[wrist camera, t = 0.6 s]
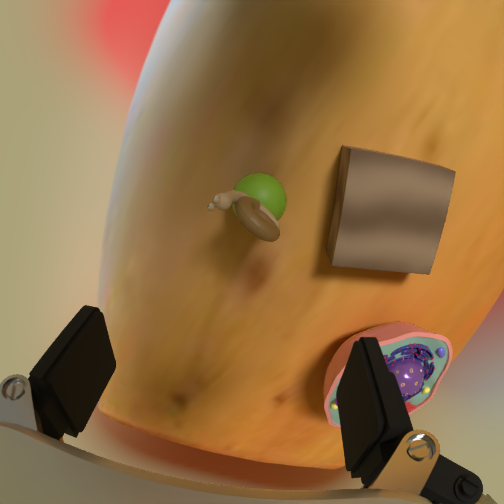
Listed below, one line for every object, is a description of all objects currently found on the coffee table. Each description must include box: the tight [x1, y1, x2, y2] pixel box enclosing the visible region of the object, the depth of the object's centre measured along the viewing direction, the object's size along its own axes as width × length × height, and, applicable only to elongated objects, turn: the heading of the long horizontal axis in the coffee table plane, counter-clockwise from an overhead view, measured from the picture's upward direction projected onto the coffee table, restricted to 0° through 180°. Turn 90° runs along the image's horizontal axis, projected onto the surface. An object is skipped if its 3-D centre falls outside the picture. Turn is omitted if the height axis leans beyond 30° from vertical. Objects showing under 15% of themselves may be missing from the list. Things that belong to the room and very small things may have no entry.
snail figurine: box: [208, 173, 287, 242], centre depth 27 cm, size 5×6×12 cm
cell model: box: [323, 321, 452, 429], centre depth 36 cm, size 17×20×11 cm
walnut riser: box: [326, 145, 456, 275], centre depth 30 cm, size 12×12×4 cm
